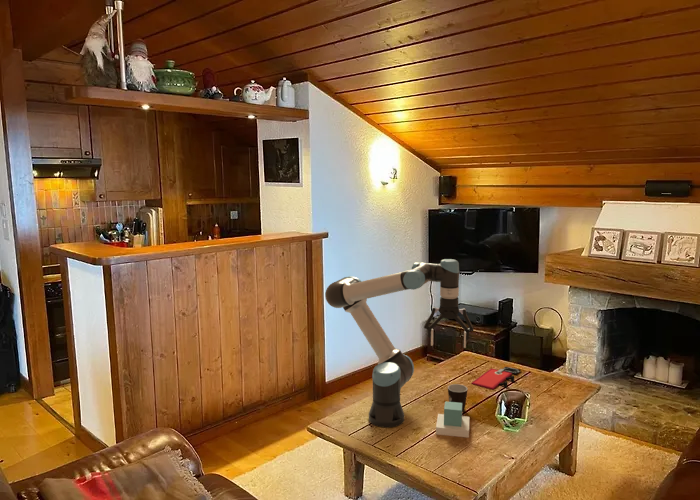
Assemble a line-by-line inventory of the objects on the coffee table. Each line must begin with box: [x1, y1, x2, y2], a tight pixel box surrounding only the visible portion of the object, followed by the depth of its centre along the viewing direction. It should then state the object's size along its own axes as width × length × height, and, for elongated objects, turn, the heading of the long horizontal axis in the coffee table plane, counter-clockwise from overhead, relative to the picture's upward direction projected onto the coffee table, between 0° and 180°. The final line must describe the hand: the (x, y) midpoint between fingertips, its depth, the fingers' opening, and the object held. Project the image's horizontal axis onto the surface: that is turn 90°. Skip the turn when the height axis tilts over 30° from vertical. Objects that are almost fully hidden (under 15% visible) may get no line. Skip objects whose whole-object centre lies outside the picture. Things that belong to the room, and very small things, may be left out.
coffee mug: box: [447, 383, 468, 413], centre depth 241 cm, size 12×9×10 cm
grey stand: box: [435, 413, 470, 439], centre depth 223 cm, size 13×12×3 cm
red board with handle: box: [471, 366, 522, 391], centre depth 273 cm, size 30×3×15 cm
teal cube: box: [443, 401, 463, 427], centre depth 222 cm, size 7×7×7 cm
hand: (448, 345), depth 228 cm, fingers open, 13 cm apart
